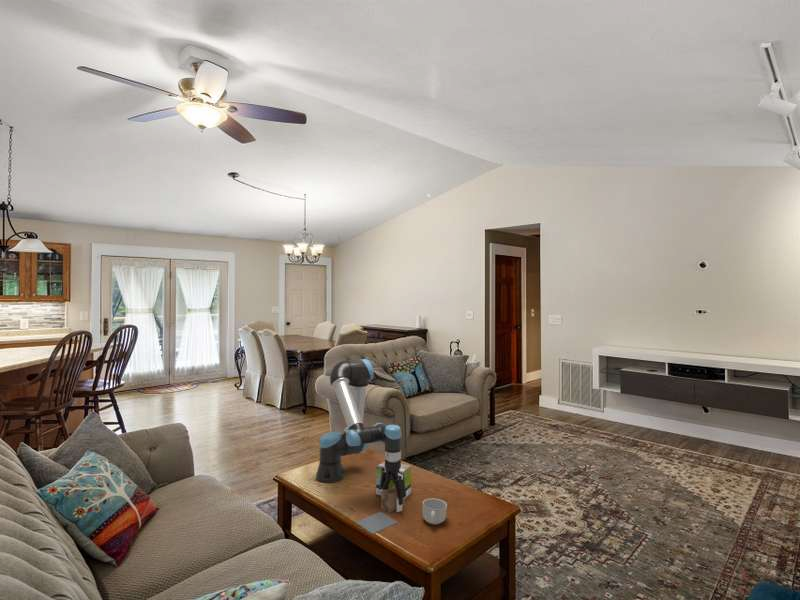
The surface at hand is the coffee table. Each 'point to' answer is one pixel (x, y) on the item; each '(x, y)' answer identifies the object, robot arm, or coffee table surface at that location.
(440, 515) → the teacup
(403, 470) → the tea box
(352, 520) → the coffee table surface
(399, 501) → the robot arm
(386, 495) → the walnut block
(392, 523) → the coaster
